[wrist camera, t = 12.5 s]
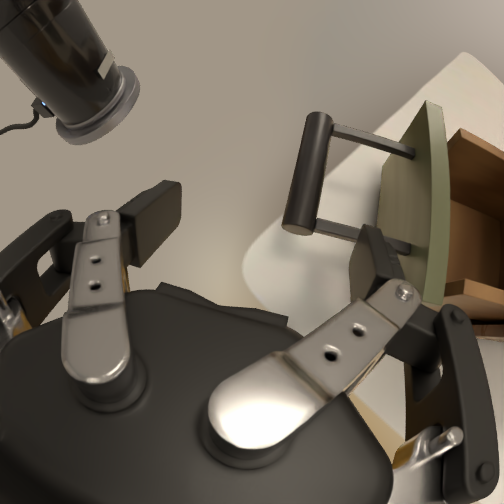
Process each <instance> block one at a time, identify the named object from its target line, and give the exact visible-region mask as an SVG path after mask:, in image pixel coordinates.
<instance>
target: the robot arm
mask: <svg viewBox="0 0 504 504" xmlns="http://www.w3.org/2000/svg"><path fill="white" fill-rule="evenodd" d="M0 58H1V59H2V60H3V61H4V62H5V63H6V64H7V65H8V67H9V68H10V69H11V70H13V72H14V73H15V74H16V75H17V76H18V77H19V78H20V80H21V82H22V83H23V84H24V85H25V86H26V87H27V88H28V89H29V90H30V91H31V92H32V93H33V94H34V95H35V96H36V99H35V100H34V102H33V103H32V105H31V106H32V107H33V108H34V109H33V114H34V119H33V120H32V121H31V122H29V123H26V124H14V125H10V126H7V127H5V128H4V129H2V130H0V135H1V134H3V133H5V132H7V131H10V130H13V129H27V128H30V127H32V126H33V125H35V124H36V122H37V121H38V120H39V114H40V115H41V116H42V117H44V118H48V117H54V116H56V117H57V118H58V119H59V120H61V122H62V123H63V124H64V125H65V126H66V127H67V128H68V129H71V130H78V129H82V128H85V127H87V126H89V125H91V124H93V123H95V122H96V121H98V120H99V119H101V118H102V117H103V116H104V115H106V114H107V113H108V112H109V111H110V110H111V109H112V108H113V107H114V106H115V105H116V103H117V102H118V101H119V99H120V98H121V96H122V94H123V92H124V90H125V86H126V79H125V77H124V75H123V74H122V72H121V71H120V70H119V69H118V67H117V65H116V64H115V62H114V59H115V57H114V56H113V54H112V52H111V50H109V51H108V50H107V49H106V47H105V45H104V44H103V42H102V40H101V38H100V37H99V35H98V33H97V32H96V30H95V28H94V27H93V25H92V23H91V22H90V20H89V18H88V17H87V15H86V13H85V11H84V10H83V8H82V6H81V5H80V3H79V1H78V0H0ZM181 197H182V187H181V184H180V183H179V182H174V181H167V180H163V181H162V182H160V183H159V184H158V185H156V186H154V187H153V188H151V189H148V190H146V191H143V192H141V193H140V194H138V195H137V196H136V197H134V198H133V199H131V200H130V201H129V202H127V203H126V204H124V205H123V206H122V207H120V208H119V209H118V210H116V211H113V210H102V211H98V212H95V213H93V214H91V215H90V216H88V218H87V219H86V221H85V222H73V219H72V214H71V212H70V211H68V210H57V211H53V212H51V213H49V214H47V215H46V216H44V217H43V218H42V219H40V220H39V221H38V222H36V223H35V224H34V225H33V226H31V227H30V228H29V229H27V230H26V231H25V232H24V233H23V234H21V235H20V236H19V237H18V238H16V239H15V240H14V241H13V242H12V243H11V244H9V245H8V246H7V247H6V248H5V249H3V250H2V251H1V252H0V504H470V503H473V502H476V501H478V500H481V499H483V498H485V497H487V496H489V495H490V494H491V493H492V492H493V490H494V489H495V487H496V485H497V483H498V479H499V452H498V440H497V431H496V424H495V417H494V410H493V405H492V399H491V394H490V389H489V385H488V380H487V376H486V372H485V368H484V364H483V360H482V356H481V353H480V349H479V346H478V343H477V339H476V336H475V333H474V330H473V327H472V324H471V321H470V319H469V317H468V316H467V314H466V313H465V312H464V311H463V310H462V309H460V308H459V307H457V306H455V305H453V304H445V305H443V306H442V308H441V309H440V311H439V312H436V311H434V310H432V309H430V308H428V307H426V306H424V305H423V304H421V302H422V297H421V294H420V292H419V291H418V289H417V288H416V287H415V286H413V285H412V284H411V283H409V282H407V281H406V280H405V276H404V273H403V270H402V267H401V265H400V261H399V259H398V255H397V252H396V250H395V249H394V248H393V246H392V245H391V244H390V243H389V242H385V240H384V237H383V234H382V231H381V229H380V228H377V227H373V226H370V225H366V224H364V225H363V226H362V228H361V230H360V233H359V236H358V239H357V242H356V244H355V247H354V250H353V252H352V255H351V259H350V263H349V277H350V292H351V303H350V304H349V305H348V306H346V307H345V308H344V309H342V310H341V311H340V312H338V313H337V314H336V315H334V316H333V317H332V318H330V319H329V320H327V321H326V322H325V323H323V324H322V325H321V326H319V327H318V328H316V329H315V330H314V331H312V332H311V333H309V334H308V335H306V336H305V337H303V336H302V335H301V334H299V333H298V332H296V331H295V330H293V329H291V328H289V327H287V322H288V316H284V315H280V314H276V313H272V312H268V311H264V310H260V309H256V308H243V307H230V306H220V305H217V304H215V303H213V302H211V301H209V300H207V299H205V298H204V297H202V296H200V295H198V294H196V293H194V292H192V291H190V290H187V289H183V288H180V287H177V286H173V285H170V284H167V283H164V282H161V283H160V284H159V286H158V287H157V288H156V290H136V291H131V292H130V287H129V280H128V271H127V266H128V265H132V266H135V267H139V268H141V267H142V265H143V264H144V263H145V262H146V261H147V260H148V259H149V258H150V256H151V255H152V254H153V253H154V252H155V251H156V250H157V249H158V248H159V246H160V245H161V244H162V243H163V242H164V241H165V240H166V239H167V238H168V237H169V236H170V234H171V233H172V232H173V231H174V230H175V229H176V228H177V227H178V225H179V223H180V219H181ZM48 250H49V251H50V254H51V257H52V261H53V264H52V265H51V266H50V267H49V268H48V270H46V271H45V272H44V273H43V274H42V275H41V276H40V277H39V274H38V271H37V263H38V260H39V259H40V258H41V257H42V256H43V255H44V254H45V253H46V252H47V251H48ZM69 289H70V291H69V302H68V311H67V312H65V313H64V315H63V317H61V318H58V319H55V320H53V321H50V322H47V323H45V324H42V325H40V324H41V323H42V322H43V321H44V319H45V318H46V317H47V316H48V314H49V313H50V312H51V310H52V309H53V308H54V307H55V306H56V304H57V303H58V302H59V301H60V300H61V298H62V297H63V296H64V295H65V294H66V293H67V291H68V290H69ZM386 354H388V355H390V356H392V357H394V358H396V359H398V360H400V361H402V362H404V374H405V396H406V436H405V443H404V444H402V445H401V446H400V447H399V448H398V449H397V451H396V453H395V457H394V460H393V464H391V462H390V459H389V457H388V456H387V454H386V452H385V450H384V449H383V448H382V446H381V445H380V443H379V442H378V440H377V439H376V437H375V436H374V434H373V433H372V431H371V430H370V428H369V427H368V425H367V424H366V423H365V421H364V419H363V418H362V416H361V415H360V414H359V412H358V411H357V409H356V407H355V406H354V404H353V403H352V401H351V400H350V398H349V397H348V396H349V395H350V394H351V393H352V392H353V391H354V390H355V389H356V388H357V387H358V385H359V384H360V383H361V382H362V381H363V380H364V379H365V378H366V377H367V376H368V375H369V374H370V372H371V371H372V370H373V369H374V368H375V367H376V366H377V365H378V364H379V362H380V361H381V360H382V359H383V358H384V357H385V355H386ZM441 365H442V366H443V374H442V378H441V376H440V369H439V367H440V366H441Z"/></svg>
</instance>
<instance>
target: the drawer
mask: <svg viewBox="0 0 504 504" xmlns="http://www.w3.org/2000/svg"><path fill="white" fill-rule="evenodd" d="M331 135H332V136H334V137H338V138H342V139H346V140H349V141H353V142H356V143H360V144H363V145H367V146H370V147H373V148H377V149H380V150H383V151H386V152H389V153H391V154H390V156H389V157H388V159H387V160H386V162H385V163H384V165H383V166H382V177H381V189H380V200H379V209H378V217H377V225H376V227H377V228H380V229H381V231H382V234H383V237H384V240H385V242H389V243H390V244H391V245H392V246H393V248H394V249H395V250H396V252H397V255H398V259H399V261H400V265H401V267H402V270H403V273H404V276H405V280H406V281H407V282H409V283H411V284H412V285H413V286H415V287H416V288H417V289H418V291H419V292H420V294H421V297H422V302H421V304H423V305H424V306H426V307H428V308H430V309H432V310H434V311H436V312H439V311H440V309H441V308H442V306H443V305H445V304H453V305H455V306H457V307H459V308H460V309H462V310H463V311H464V312H465V313H466V314H467V316H468V317H469V319H473V320H478V321H483V322H488V323H492V324H498V323H499V324H502V323H504V152H503V151H501V150H500V149H498V148H496V147H495V146H493V145H491V144H490V143H488V142H486V141H484V140H483V139H481V138H479V137H477V136H475V135H473V134H471V133H469V132H468V131H466V130H464V129H462V128H460V129H459V130H458V131H457V132H456V133H455V134H454V135H453V137H452V138H451V139H450V140H449V141H448V142H447V140H446V132H445V125H444V118H443V112H442V107H440V106H438V105H436V104H433V103H431V102H429V101H425V102H424V104H423V105H422V107H421V108H420V110H419V112H418V113H417V115H416V116H415V118H414V120H413V121H412V123H411V124H410V126H409V127H408V129H407V130H406V132H405V133H404V135H403V137H402V138H401V140H400V141H399V142H396V141H393V140H390V139H387V138H384V137H381V136H377V135H374V134H371V133H368V132H364V131H361V130H357V129H354V128H350V127H347V126H342V125H339V124H333V120H332V118H331V117H330V116H329V115H327V114H325V113H323V112H312V113H310V114H309V115H308V116H307V118H306V122H305V127H304V131H303V136H302V140H301V145H300V149H299V153H298V158H297V162H296V167H295V171H294V175H293V179H292V184H291V187H290V192H289V196H288V200H287V204H286V208H285V212H284V216H283V221H282V225H281V226H282V228H283V229H284V230H286V231H288V232H290V233H293V234H296V235H302V236H309V235H312V234H313V232H316V233H320V234H324V235H328V236H332V237H336V238H340V239H344V240H347V241H351V242H355V243H356V242H357V239H358V236H359V233H360V230H361V229H358V228H355V227H351V226H347V225H343V224H339V223H336V222H332V221H328V220H324V219H320V218H317V219H316V217H317V213H318V208H319V202H320V197H321V192H322V187H323V182H324V176H325V171H326V165H327V159H328V153H329V147H330V141H331Z"/></svg>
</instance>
